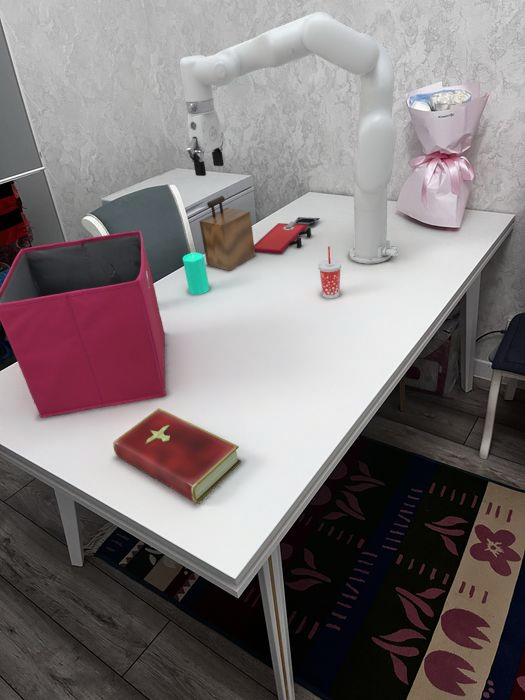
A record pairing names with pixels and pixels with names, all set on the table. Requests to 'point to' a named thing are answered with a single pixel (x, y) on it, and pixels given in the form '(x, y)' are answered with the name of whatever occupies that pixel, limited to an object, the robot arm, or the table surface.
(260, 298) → the table surface
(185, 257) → the candle
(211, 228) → the wooden drawer
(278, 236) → the red board with handle
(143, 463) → the hardcover book
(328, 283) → the beverage cup
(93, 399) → the storage bin
